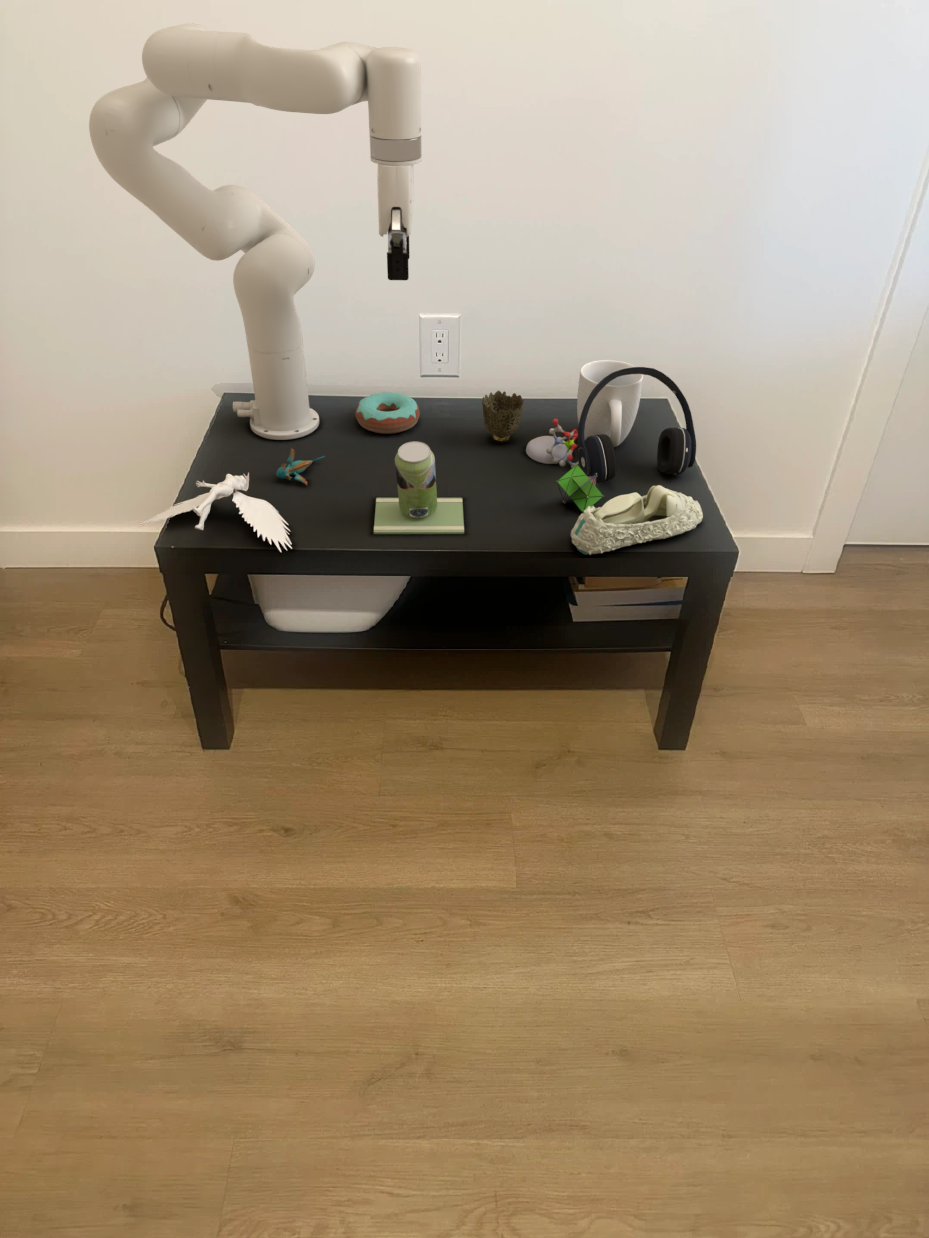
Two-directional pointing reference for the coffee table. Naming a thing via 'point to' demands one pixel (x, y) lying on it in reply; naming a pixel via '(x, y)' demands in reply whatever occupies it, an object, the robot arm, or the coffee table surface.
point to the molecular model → (569, 444)
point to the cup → (502, 415)
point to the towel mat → (439, 522)
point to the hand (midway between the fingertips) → (398, 269)
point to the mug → (609, 400)
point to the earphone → (672, 445)
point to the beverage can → (416, 480)
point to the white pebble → (539, 446)
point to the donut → (387, 413)
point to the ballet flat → (635, 520)
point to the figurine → (251, 508)
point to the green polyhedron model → (580, 488)
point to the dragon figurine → (294, 468)
